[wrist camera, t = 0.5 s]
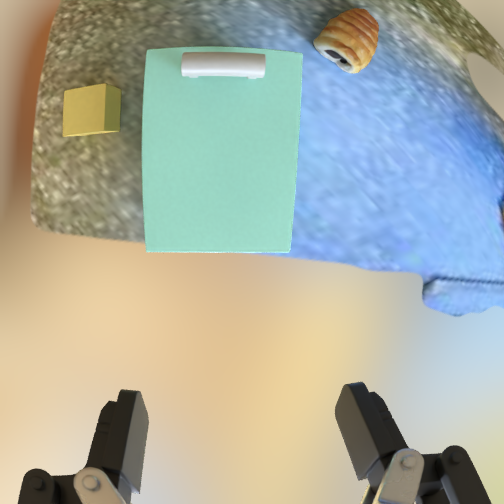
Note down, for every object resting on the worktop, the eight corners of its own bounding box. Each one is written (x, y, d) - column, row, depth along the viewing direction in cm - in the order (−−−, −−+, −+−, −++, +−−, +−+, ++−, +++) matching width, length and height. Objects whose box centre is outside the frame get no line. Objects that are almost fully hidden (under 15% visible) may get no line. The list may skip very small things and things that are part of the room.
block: (83, 95, 27) (64, 90, 22) (121, 89, 27) (106, 82, 23) (82, 135, 29) (62, 136, 24) (120, 131, 29) (104, 130, 24)
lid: (148, 51, 19) (132, 33, 14) (300, 55, 21) (318, 38, 16) (147, 249, 25) (133, 273, 21) (288, 249, 27) (302, 273, 22)
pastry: (342, 1, 25) (354, -10, 22) (384, 33, 27) (399, 26, 24) (307, 48, 28) (317, 39, 24) (353, 81, 30) (367, 76, 26)
